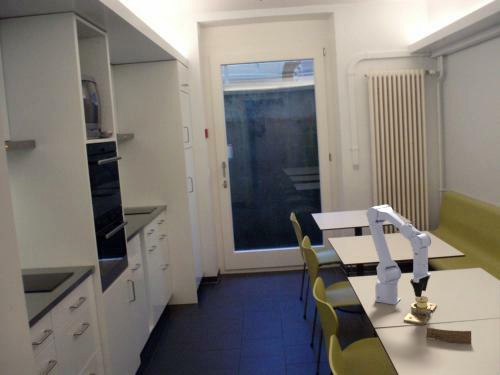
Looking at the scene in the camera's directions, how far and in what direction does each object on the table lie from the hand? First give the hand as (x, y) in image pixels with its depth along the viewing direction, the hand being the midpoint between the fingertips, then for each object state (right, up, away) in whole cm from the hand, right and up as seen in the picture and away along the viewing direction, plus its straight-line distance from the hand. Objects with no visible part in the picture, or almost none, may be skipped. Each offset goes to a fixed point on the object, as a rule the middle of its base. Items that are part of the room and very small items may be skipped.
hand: (420, 293), depth 199 cm
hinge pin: (+1, -9, +1) cm, 9 cm away
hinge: (+1, -9, +1) cm, 9 cm away
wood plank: (+2, -13, -24) cm, 27 cm away
